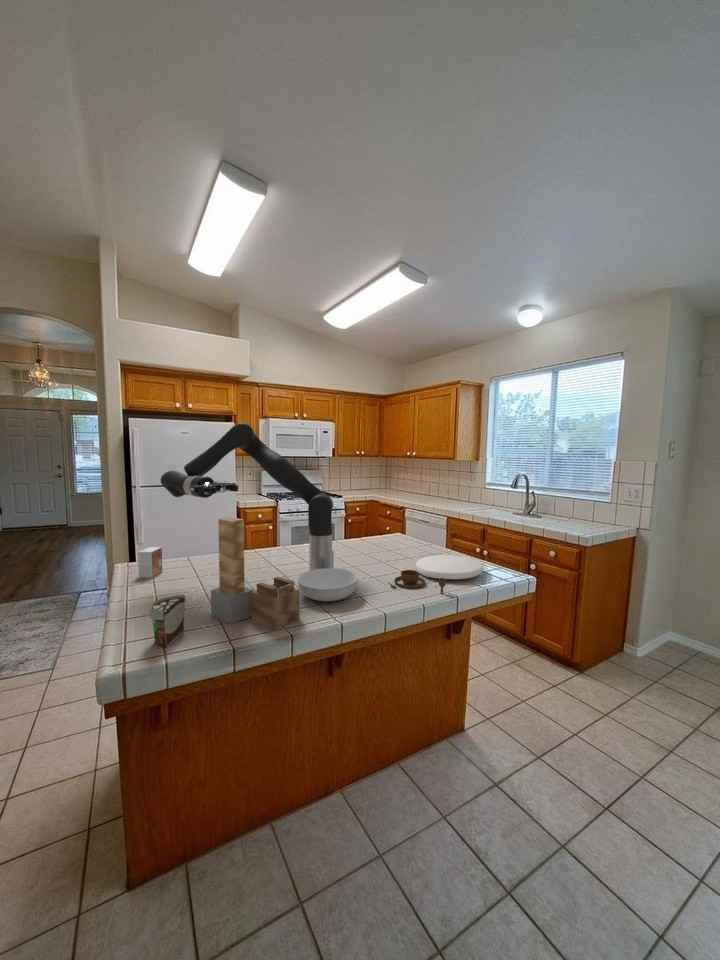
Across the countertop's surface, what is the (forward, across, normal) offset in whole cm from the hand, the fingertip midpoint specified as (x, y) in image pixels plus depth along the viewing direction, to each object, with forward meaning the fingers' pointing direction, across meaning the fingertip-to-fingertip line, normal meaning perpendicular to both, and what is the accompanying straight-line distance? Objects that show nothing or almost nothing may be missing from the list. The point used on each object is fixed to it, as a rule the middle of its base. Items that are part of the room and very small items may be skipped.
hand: (226, 489), depth 129 cm
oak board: (+12, -7, +30) cm, 33 cm away
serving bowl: (+25, +23, +38) cm, 51 cm away
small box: (-46, -4, +38) cm, 60 cm away
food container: (+10, -27, +38) cm, 48 cm away
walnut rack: (+25, -1, +38) cm, 45 cm away
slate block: (+12, -7, +38) cm, 40 cm away
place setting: (+45, +50, +39) cm, 77 cm away
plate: (+48, +74, +39) cm, 96 cm away
